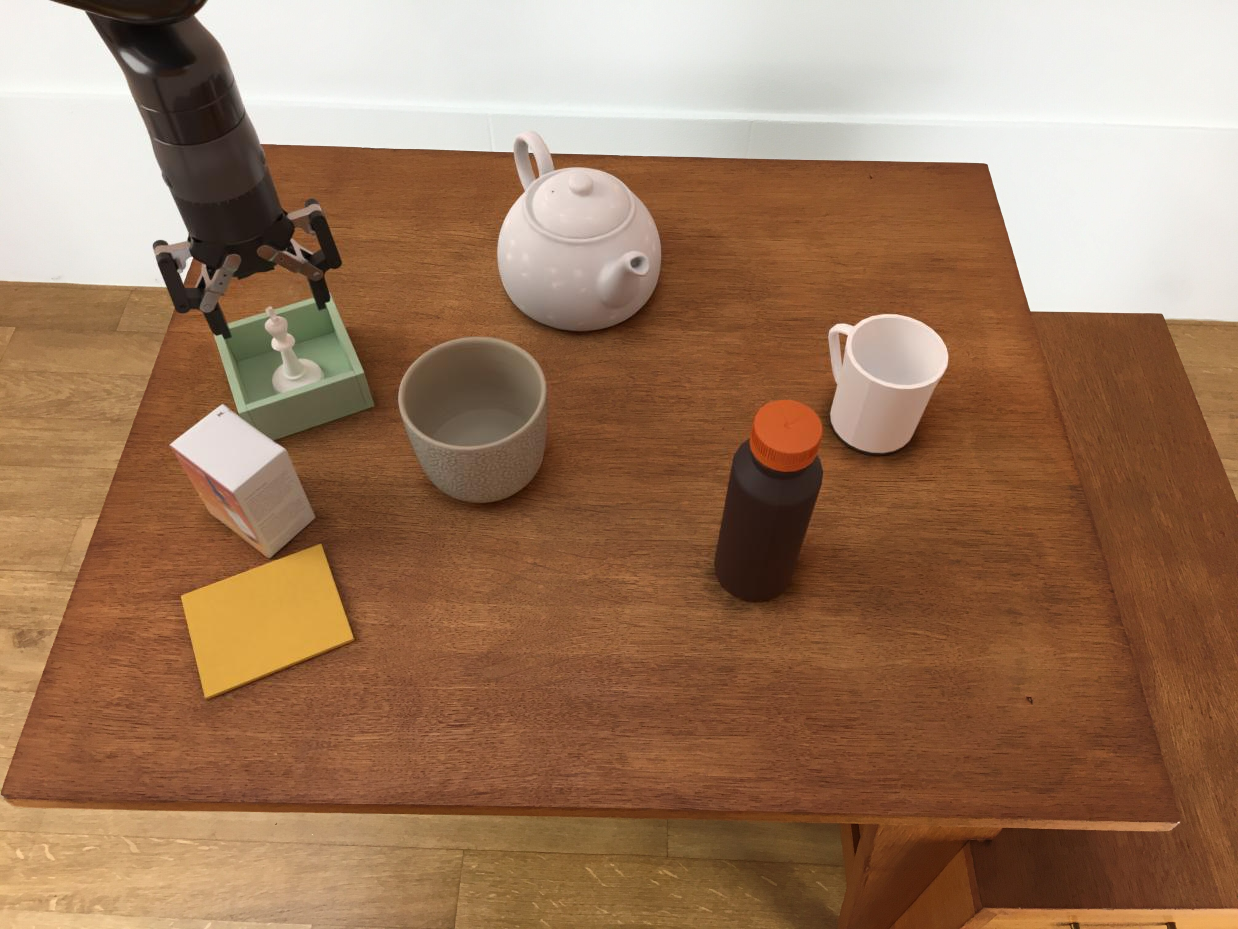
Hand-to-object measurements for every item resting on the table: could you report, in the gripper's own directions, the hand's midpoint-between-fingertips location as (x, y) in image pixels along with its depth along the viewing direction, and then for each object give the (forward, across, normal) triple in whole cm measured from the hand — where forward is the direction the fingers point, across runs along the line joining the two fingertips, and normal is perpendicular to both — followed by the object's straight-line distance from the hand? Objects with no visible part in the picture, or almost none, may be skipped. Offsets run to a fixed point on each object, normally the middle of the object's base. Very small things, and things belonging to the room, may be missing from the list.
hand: (273, 318), depth 87 cm
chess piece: (+9, 0, 0) cm, 9 cm away
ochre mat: (+10, +9, +24) cm, 27 cm away
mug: (+9, -48, +27) cm, 56 cm away
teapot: (+9, -31, -2) cm, 33 cm away
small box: (+10, +7, +14) cm, 18 cm away
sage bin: (+9, 0, 0) cm, 9 cm away
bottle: (+10, -30, +37) cm, 49 cm away
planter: (+10, -13, +17) cm, 23 cm away
